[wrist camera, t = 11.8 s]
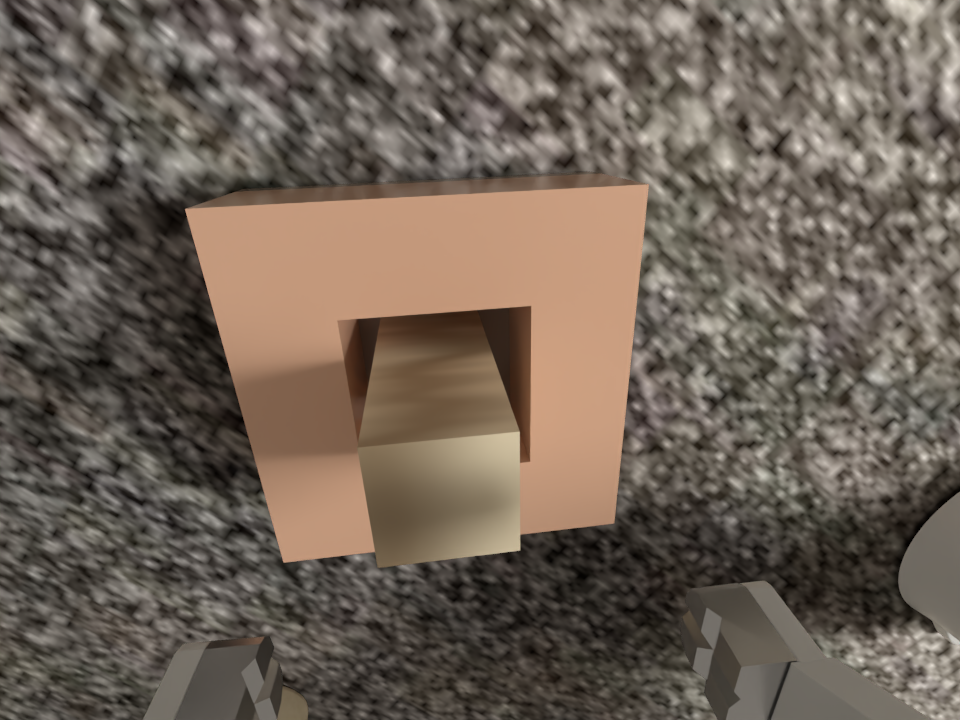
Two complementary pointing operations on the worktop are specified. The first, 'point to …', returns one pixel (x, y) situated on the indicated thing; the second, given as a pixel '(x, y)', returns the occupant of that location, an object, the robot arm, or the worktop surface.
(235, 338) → the well block
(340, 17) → the worktop surface
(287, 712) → the candle
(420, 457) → the peg
